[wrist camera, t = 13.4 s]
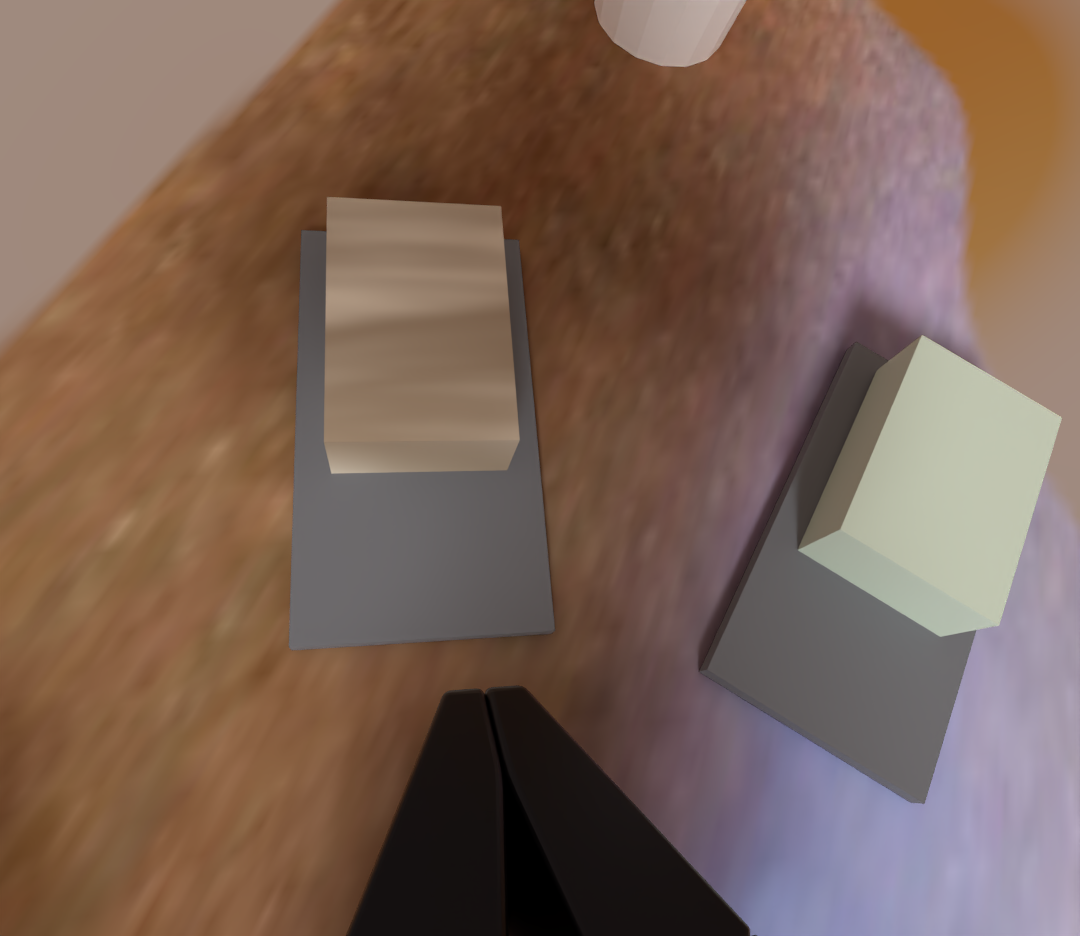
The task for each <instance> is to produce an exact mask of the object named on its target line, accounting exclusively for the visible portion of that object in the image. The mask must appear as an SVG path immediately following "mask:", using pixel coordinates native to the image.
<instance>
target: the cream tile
mask: <svg viewBox="0 0 1080 936" xmlns="http://www.w3.org/2000/svg"><path fill="white" fill-rule="evenodd" d="M519 441H520V437H519V425H518V412H517V399H516V387H515V374H514V362H513V349H512V337H511V324H510V312H509V299H508V286H507V274H506V261H505V249H504V236H503V224H502V211H501V206H489V205H470V204H451V203H432V202H414V201H395V200H376V199H357V198H338V197H327V242H326V319H325V396H324V445H325V449H326V453H327V457H328V461H329V466H330V470H331V474H333V473H387V472H442V471H496V470H507V469H508V467H509V464H510V462H511V460H512V457H513V455H514V453H515V450H516V448H517V445H518V443H519Z"/></svg>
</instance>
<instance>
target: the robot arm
mask: <svg viewBox="0 0 1080 936" xmlns="http://www.w3.org/2000/svg"><path fill="white" fill-rule="evenodd" d="M346 936H750V928H749V927H748V925H747V924H746V923H745V922H744V921H743V920H742V919H741V918H740V917H739V916H738V915H737V914H736V913H735V912H734V910H733V909H732V908H731V907H730V906H729V905H728V904H727V903H726V902H725V901H724V900H723V899H722V898H721V897H720V895H719V894H718V893H717V892H716V891H715V890H714V889H713V888H712V887H711V886H710V885H709V884H708V883H707V882H706V880H705V879H704V878H703V877H702V876H701V875H700V874H699V873H698V872H697V871H696V870H695V869H694V868H693V867H692V865H691V864H690V863H689V862H688V861H687V860H686V859H685V858H684V857H683V856H682V855H681V854H680V853H679V852H678V850H677V849H676V848H675V847H674V846H673V845H672V844H671V843H670V842H669V841H668V840H667V839H666V838H665V837H664V836H663V834H662V833H661V832H660V831H659V830H658V829H657V828H656V827H655V826H654V825H653V824H652V823H651V822H650V821H649V819H648V818H647V817H646V816H645V815H644V814H643V813H642V812H641V811H640V810H639V809H638V808H637V807H636V806H635V804H634V803H633V802H632V801H631V800H630V799H629V798H628V797H627V796H626V795H625V794H624V793H623V792H622V791H621V789H620V788H619V787H618V786H617V785H616V784H615V783H614V782H613V781H612V780H611V779H610V778H609V777H608V776H607V774H606V773H605V772H604V771H603V770H602V769H601V768H600V767H599V766H598V765H597V764H596V763H595V762H594V761H593V760H592V758H591V757H590V756H589V755H588V754H587V753H586V752H585V751H584V750H583V749H582V748H581V747H580V746H579V745H578V743H577V742H576V741H575V740H574V739H573V738H572V737H571V736H570V735H569V734H568V733H567V732H566V731H565V730H564V728H563V727H562V726H561V725H560V724H559V723H558V722H557V721H556V720H555V719H554V718H553V717H552V716H551V715H550V713H549V712H548V711H547V710H546V709H545V708H544V707H543V706H542V705H541V704H540V703H539V702H538V701H537V700H536V698H535V697H534V696H533V695H532V694H531V693H530V692H529V691H528V690H527V689H526V688H524V687H522V686H505V687H492V688H489V689H487V690H486V692H485V694H484V693H483V691H482V690H480V689H465V690H452V691H447V692H446V693H445V694H444V695H443V696H442V698H441V701H440V703H439V706H438V708H437V711H436V713H435V716H434V718H433V721H432V723H431V726H430V728H429V731H428V733H427V736H426V738H425V741H424V743H423V745H422V748H421V750H420V753H419V755H418V758H417V760H416V763H415V765H414V768H413V770H412V773H411V775H410V778H409V780H408V783H407V785H406V788H405V790H404V793H403V795H402V798H401V800H400V803H399V805H398V808H397V810H396V813H395V815H394V818H393V820H392V823H391V825H390V828H389V830H388V833H387V835H386V838H385V840H384V842H383V845H382V847H381V850H380V852H379V855H378V857H377V860H376V862H375V865H374V867H373V870H372V872H371V875H370V877H369V880H368V882H367V885H366V887H365V890H364V892H363V895H362V897H361V900H360V902H359V905H358V907H357V910H356V912H355V915H354V917H353V920H352V922H351V925H350V927H349V930H348V932H347V935H346ZM753 936H757V935H753Z"/></svg>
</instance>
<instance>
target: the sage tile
mask: <svg viewBox="0 0 1080 936" xmlns="http://www.w3.org/2000/svg"><path fill="white" fill-rule="evenodd" d="M1061 419H1062V417H1060V416H1058V415H1057V414H1055V413H1053V412H1052V411H1050V410H1048V409H1046V408H1045V407H1043V406H1042V405H1040V404H1038V403H1036V402H1035V401H1033V400H1031V399H1030V398H1028V397H1026V396H1025V395H1023V394H1021V393H1019V392H1018V391H1016V390H1015V389H1013V388H1011V387H1009V386H1008V385H1006V384H1004V383H1003V382H1001V381H999V380H998V379H996V378H994V377H993V376H991V375H989V374H988V373H986V372H984V371H982V370H981V369H979V368H977V367H976V366H974V365H972V364H971V363H969V362H967V361H966V360H964V359H962V358H960V357H959V356H957V355H955V354H954V353H952V352H950V351H949V350H947V349H945V348H944V347H942V346H940V345H938V344H937V343H935V342H933V341H932V340H930V339H928V338H927V337H925V336H923V335H921V336H920V337H919V338H917V339H916V340H915V341H913V342H912V343H911V344H910V345H908V346H907V347H906V348H905V349H903V350H902V351H901V352H899V353H898V354H897V355H896V356H894V357H893V358H892V359H890V360H889V361H888V362H887V363H885V364H884V365H883V366H882V367H880V368H879V369H878V370H877V371H876V373H875V376H874V378H873V380H872V382H871V385H870V387H869V389H868V392H867V394H866V396H865V398H864V401H863V403H862V405H861V407H860V410H859V412H858V414H857V416H856V419H855V421H854V423H853V426H852V428H851V430H850V432H849V435H848V437H847V439H846V441H845V444H844V446H843V448H842V450H841V453H840V455H839V457H838V459H837V462H836V464H835V466H834V469H833V471H832V473H831V475H830V478H829V480H828V482H827V484H826V487H825V489H824V491H823V493H822V496H821V498H820V500H819V503H818V505H817V507H816V509H815V512H814V514H813V516H812V518H811V521H810V523H809V525H808V527H807V530H806V532H805V534H804V537H803V539H802V541H801V543H800V546H799V548H798V551H800V552H802V553H803V554H805V555H806V556H808V557H810V558H811V559H813V560H815V561H816V562H818V563H820V564H821V565H823V566H825V567H826V568H828V569H830V570H831V571H833V572H834V573H836V574H838V575H839V576H841V577H843V578H844V579H846V580H848V581H849V582H851V583H853V584H854V585H856V586H857V587H859V588H861V589H862V590H864V591H866V592H867V593H869V594H871V595H872V596H874V597H876V598H877V599H879V600H881V601H882V602H884V603H885V604H887V605H889V606H890V607H892V608H894V609H895V610H897V611H899V612H900V613H902V614H904V615H905V616H907V617H908V618H910V619H912V620H913V621H915V622H917V623H918V624H920V625H922V626H923V627H925V628H927V629H928V630H930V631H932V632H933V633H935V634H936V635H938V636H940V637H942V636H947V635H952V634H957V633H963V632H968V631H973V630H978V629H983V628H989V627H994V626H999V624H1000V620H1001V617H1002V614H1003V611H1004V607H1005V604H1006V601H1007V597H1008V594H1009V591H1010V587H1011V584H1012V581H1013V578H1014V574H1015V571H1016V568H1017V564H1018V561H1019V558H1020V554H1021V551H1022V548H1023V545H1024V541H1025V538H1026V535H1027V531H1028V528H1029V525H1030V521H1031V518H1032V515H1033V512H1034V508H1035V505H1036V502H1037V498H1038V495H1039V492H1040V488H1041V485H1042V482H1043V479H1044V475H1045V472H1046V469H1047V465H1048V462H1049V459H1050V455H1051V452H1052V449H1053V445H1054V442H1055V439H1056V435H1057V432H1058V429H1059V426H1060V422H1061Z"/></svg>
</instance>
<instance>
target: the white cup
mask: <svg viewBox="0 0 1080 936" xmlns="http://www.w3.org/2000/svg"><path fill="white" fill-rule="evenodd" d="M745 2H746V0H595V2H594V5H595V9H596V13H597V17H598V21H599V24H600V25H601V27H602V28H603V29H604V30H605V32H606V33H607V34H608V36H609V37H610V38H611V39H612V41H613V42H614V43H615V44H617V45H618V46H620V47H621V48H623V49H624V50H626V51H627V52H629V53H630V54H631V55H633V56H634V57H636V58H639V59H642V60H645V61H648V62H651V63H654V64H657V65H660V66H675V67H688V66H691V65H694V64H697V63H700V62H703V61H706V60H707V59H708V58H709V57H710V56H711V55H712V54H713V53H714V52H715V51H716V50H717V49H718V48H719V47H720V45H721V43H722V42H723V40H724V38H725V37H726V35H727V33H728V31H729V30H730V28H731V26H732V24H733V23H734V21H735V19H736V17H737V16H738V14H739V12H740V10H741V9H742V7H743V5H744V4H745Z"/></svg>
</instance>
